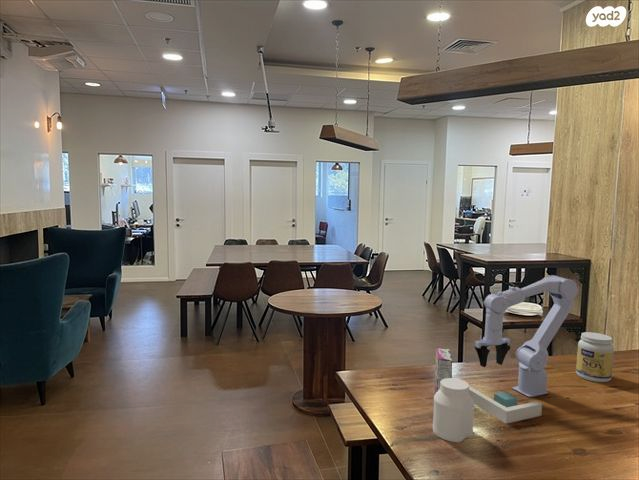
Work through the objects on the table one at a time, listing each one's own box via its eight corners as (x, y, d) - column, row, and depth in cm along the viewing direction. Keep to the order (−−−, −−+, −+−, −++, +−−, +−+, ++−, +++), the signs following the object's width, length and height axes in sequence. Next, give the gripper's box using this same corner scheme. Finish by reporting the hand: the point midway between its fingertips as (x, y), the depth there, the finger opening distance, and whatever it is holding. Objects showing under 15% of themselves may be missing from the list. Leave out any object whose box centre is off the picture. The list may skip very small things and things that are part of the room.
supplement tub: (575, 378, 171) (578, 337, 170) (576, 368, 181) (578, 329, 180) (612, 386, 165) (615, 342, 163) (611, 375, 175) (614, 334, 174)
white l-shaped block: (495, 390, 159) (495, 379, 159) (541, 415, 141) (541, 403, 140) (462, 396, 153) (462, 385, 153) (505, 423, 135) (506, 411, 135)
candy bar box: (433, 391, 157) (435, 347, 156) (448, 393, 156) (449, 348, 155) (435, 405, 146) (437, 358, 145) (451, 407, 145) (453, 359, 144)
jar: (454, 445, 122) (456, 394, 121) (427, 431, 130) (429, 382, 129) (477, 432, 129) (480, 384, 128) (450, 419, 137) (452, 373, 136)
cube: (504, 405, 148) (505, 391, 147) (516, 411, 143) (517, 397, 143) (493, 407, 146) (494, 393, 145) (505, 414, 141) (505, 399, 141)
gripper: (500, 323, 161) (498, 359, 162) (469, 326, 156) (467, 363, 157) (515, 328, 155) (513, 365, 156) (484, 332, 149) (481, 370, 150)
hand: (491, 365), depth 156 cm, fingers open, 7 cm apart
